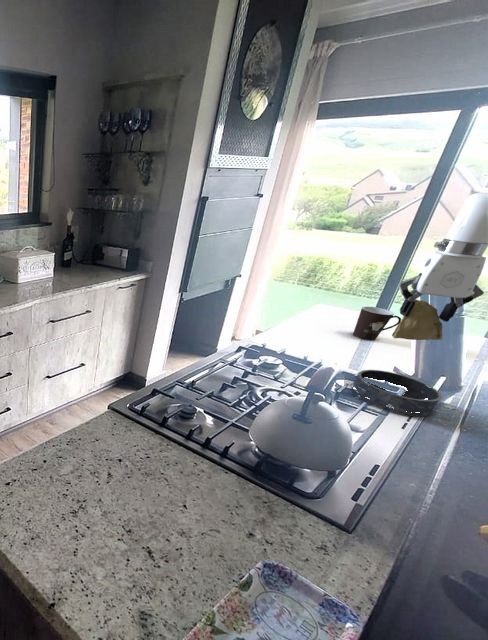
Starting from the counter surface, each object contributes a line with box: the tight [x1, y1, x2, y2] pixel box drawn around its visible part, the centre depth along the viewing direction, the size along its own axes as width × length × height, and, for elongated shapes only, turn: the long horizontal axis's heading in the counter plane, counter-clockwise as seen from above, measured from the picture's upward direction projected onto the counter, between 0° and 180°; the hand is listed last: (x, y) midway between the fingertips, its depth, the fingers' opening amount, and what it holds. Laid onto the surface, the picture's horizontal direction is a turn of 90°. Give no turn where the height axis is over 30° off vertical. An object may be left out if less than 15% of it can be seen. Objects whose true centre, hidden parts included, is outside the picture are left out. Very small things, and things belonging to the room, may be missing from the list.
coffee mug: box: [352, 305, 402, 342], centre depth 142 cm, size 12×9×10 cm
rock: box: [391, 299, 444, 341], centre depth 107 cm, size 11×9×10 cm
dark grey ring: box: [350, 369, 443, 417], centre depth 105 cm, size 16×16×4 cm
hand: (423, 317), depth 106 cm, fingers closed on rock, 7 cm apart
